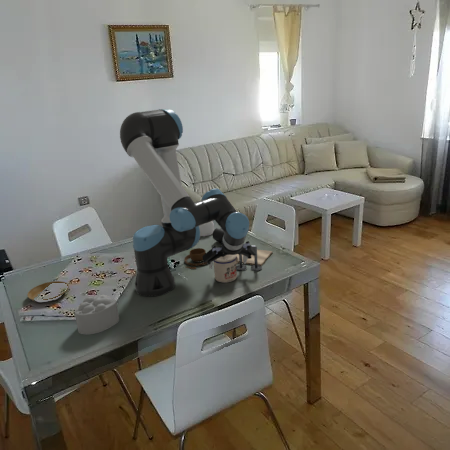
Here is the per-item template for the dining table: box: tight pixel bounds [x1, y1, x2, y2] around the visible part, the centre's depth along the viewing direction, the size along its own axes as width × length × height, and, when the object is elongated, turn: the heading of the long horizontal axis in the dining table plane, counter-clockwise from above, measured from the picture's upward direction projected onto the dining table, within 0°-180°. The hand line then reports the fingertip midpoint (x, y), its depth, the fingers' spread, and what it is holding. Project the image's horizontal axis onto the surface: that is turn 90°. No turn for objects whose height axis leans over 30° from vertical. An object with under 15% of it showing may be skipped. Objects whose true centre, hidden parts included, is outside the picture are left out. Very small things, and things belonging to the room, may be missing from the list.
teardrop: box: [199, 221, 215, 237], centre depth 211 cm, size 11×11×12 cm
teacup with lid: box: [213, 253, 239, 284], centre depth 162 cm, size 12×9×12 cm
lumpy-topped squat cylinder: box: [74, 294, 120, 335], centre depth 137 cm, size 10×13×9 cm
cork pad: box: [236, 248, 273, 267], centre depth 180 cm, size 14×14×1 cm
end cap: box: [212, 227, 224, 244], centre depth 196 cm, size 10×7×7 cm
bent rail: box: [236, 244, 263, 272], centre depth 169 cm, size 6×16×10 cm, turn 64°
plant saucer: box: [26, 280, 70, 302], centre depth 159 cm, size 15×15×3 cm
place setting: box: [183, 247, 208, 270], centre depth 178 cm, size 18×20×6 cm
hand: (227, 263), depth 164 cm, fingers open, 13 cm apart
